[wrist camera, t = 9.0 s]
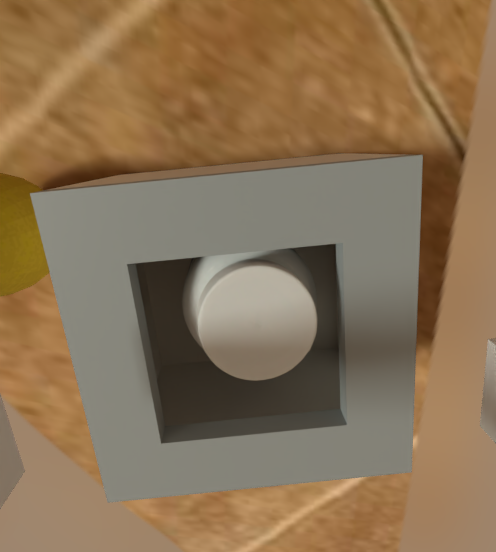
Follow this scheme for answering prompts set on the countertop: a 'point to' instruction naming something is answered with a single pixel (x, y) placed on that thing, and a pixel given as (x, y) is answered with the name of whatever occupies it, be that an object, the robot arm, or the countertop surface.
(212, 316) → the pill bottle
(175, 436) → the drop box
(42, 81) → the countertop surface
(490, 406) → the robot arm
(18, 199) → the lemon
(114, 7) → the countertop surface
